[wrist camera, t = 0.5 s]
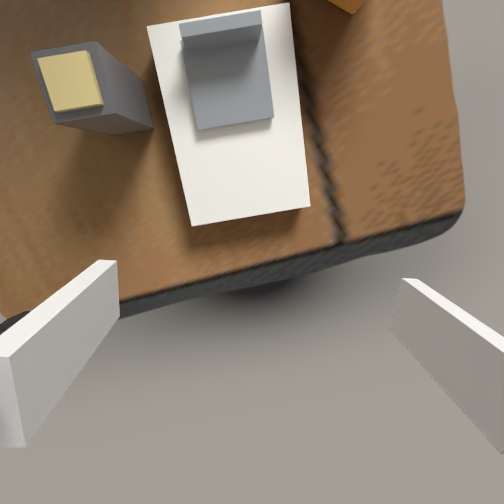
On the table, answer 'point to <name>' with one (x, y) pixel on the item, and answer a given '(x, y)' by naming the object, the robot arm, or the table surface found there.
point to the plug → (91, 89)
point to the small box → (348, 5)
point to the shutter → (227, 69)
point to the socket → (237, 132)
